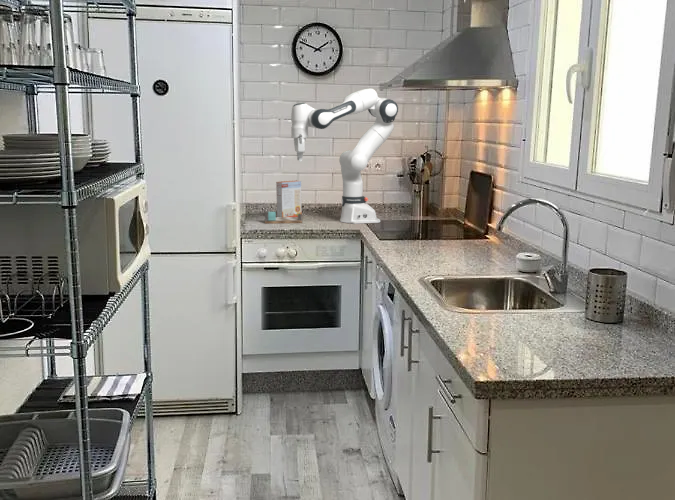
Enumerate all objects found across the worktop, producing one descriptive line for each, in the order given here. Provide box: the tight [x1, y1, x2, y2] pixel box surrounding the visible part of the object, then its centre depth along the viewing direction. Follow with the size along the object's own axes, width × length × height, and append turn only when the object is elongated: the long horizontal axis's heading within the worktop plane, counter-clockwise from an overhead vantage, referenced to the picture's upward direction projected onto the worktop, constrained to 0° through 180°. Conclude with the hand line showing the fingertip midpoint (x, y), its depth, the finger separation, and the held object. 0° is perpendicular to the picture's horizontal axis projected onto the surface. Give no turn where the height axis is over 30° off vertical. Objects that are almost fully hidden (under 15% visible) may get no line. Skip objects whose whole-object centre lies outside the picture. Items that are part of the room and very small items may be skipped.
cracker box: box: [275, 179, 303, 217], centre depth 403 cm, size 14×6×21 cm, turn 130°
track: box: [264, 211, 303, 225], centre depth 386 cm, size 20×10×6 cm, turn 97°
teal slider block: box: [268, 211, 277, 221], centre depth 385 cm, size 4×5×4 cm
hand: (299, 160), depth 370 cm, fingers open, 8 cm apart
